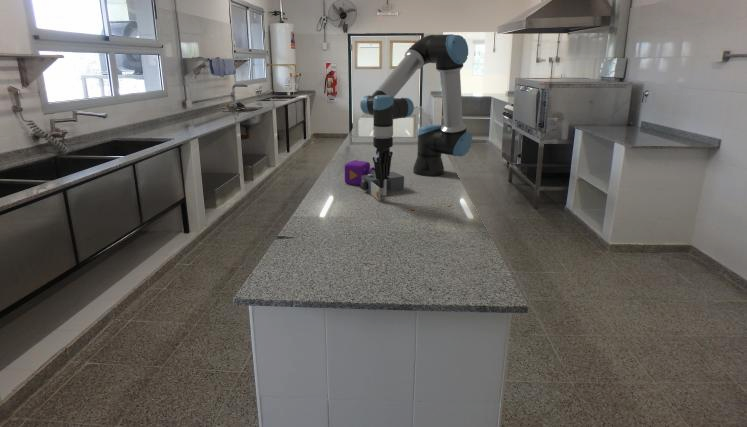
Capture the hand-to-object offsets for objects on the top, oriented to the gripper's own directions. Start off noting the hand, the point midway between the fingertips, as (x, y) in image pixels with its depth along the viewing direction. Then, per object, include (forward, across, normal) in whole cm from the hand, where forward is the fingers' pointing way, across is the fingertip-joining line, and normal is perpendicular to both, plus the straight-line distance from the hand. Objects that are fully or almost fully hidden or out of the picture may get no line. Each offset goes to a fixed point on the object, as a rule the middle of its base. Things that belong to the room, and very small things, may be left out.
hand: (382, 194), depth 196 cm
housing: (+3, -14, -7) cm, 16 cm away
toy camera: (+3, -19, -21) cm, 28 cm away
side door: (+2, -1, -4) cm, 5 cm away
